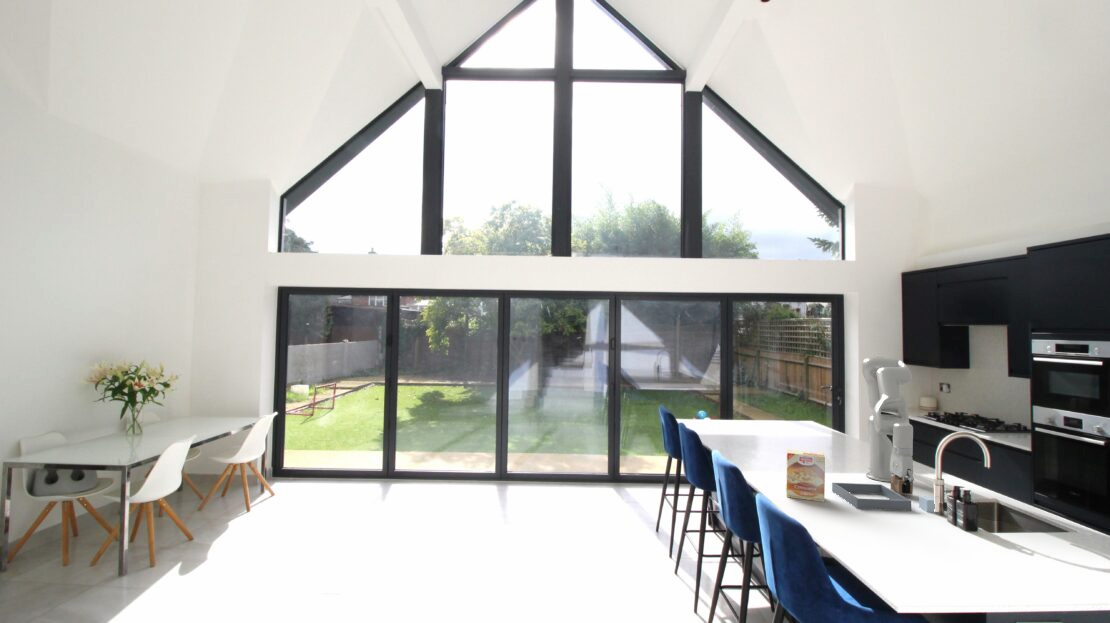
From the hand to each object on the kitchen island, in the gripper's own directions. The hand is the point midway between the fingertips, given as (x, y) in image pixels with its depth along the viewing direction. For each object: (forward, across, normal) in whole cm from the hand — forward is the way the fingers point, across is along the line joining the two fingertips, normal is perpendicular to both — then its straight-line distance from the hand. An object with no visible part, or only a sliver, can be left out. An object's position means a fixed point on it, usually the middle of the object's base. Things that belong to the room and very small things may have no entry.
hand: (901, 489), depth 232 cm
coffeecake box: (+2, +9, -46) cm, 47 cm away
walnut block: (+1, 0, 0) cm, 1 cm away
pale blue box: (+1, +19, 0) cm, 19 cm away
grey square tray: (+2, +10, -19) cm, 22 cm away
